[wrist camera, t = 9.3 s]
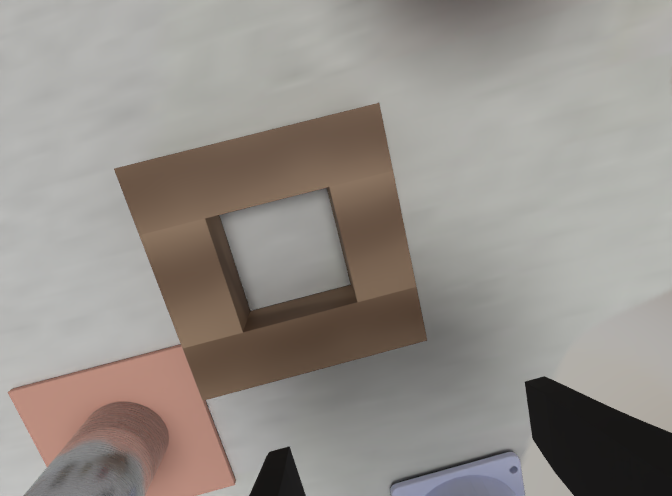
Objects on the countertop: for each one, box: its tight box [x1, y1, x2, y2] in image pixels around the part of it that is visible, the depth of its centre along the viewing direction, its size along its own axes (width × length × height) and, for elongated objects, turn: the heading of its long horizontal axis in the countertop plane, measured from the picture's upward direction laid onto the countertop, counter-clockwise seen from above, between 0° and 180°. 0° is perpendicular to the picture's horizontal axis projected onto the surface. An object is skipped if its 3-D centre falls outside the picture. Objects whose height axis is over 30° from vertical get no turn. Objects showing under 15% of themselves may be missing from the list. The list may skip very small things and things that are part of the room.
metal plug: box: [24, 402, 169, 496], centre depth 17 cm, size 4×4×6 cm
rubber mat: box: [8, 345, 236, 496], centre depth 20 cm, size 9×9×1 cm
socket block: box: [114, 103, 427, 401], centre depth 18 cm, size 11×11×2 cm
